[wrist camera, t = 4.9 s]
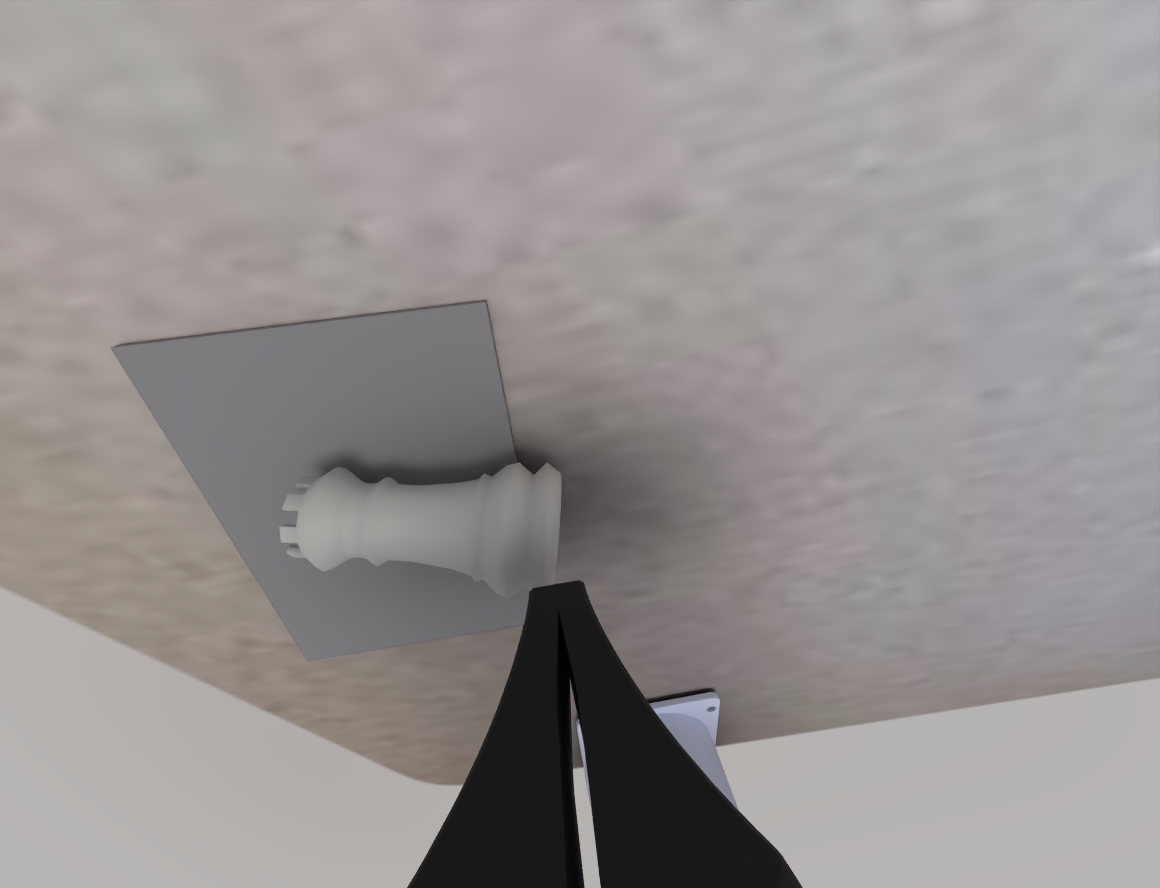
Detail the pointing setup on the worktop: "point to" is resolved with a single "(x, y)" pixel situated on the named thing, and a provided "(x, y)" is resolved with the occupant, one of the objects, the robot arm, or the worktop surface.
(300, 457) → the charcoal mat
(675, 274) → the worktop surface
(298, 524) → the rook chess piece
